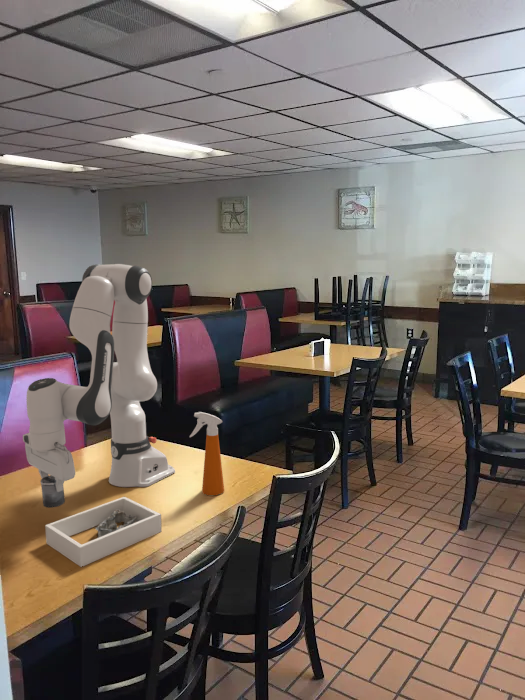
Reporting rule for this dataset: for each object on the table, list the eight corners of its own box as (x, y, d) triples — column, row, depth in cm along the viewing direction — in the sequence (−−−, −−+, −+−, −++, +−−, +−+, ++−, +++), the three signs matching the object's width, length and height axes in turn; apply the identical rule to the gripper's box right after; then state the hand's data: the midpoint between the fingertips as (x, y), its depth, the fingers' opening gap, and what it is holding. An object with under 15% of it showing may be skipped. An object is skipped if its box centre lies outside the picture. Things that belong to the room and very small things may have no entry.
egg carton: (119, 521, 159) (119, 507, 158) (140, 526, 155) (140, 512, 155) (92, 537, 149) (91, 522, 149) (114, 543, 146) (113, 528, 145)
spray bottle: (188, 490, 179) (186, 410, 175) (220, 485, 183) (220, 407, 178) (193, 499, 172) (191, 416, 168) (227, 494, 176) (226, 412, 172)
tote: (124, 512, 163) (124, 496, 162) (161, 531, 152) (161, 514, 151) (46, 543, 145) (45, 525, 145) (81, 567, 134) (80, 547, 133)
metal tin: (59, 496, 159) (56, 473, 158) (69, 502, 155) (66, 478, 154) (39, 503, 155) (36, 479, 153) (49, 509, 151) (46, 485, 150)
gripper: (78, 444, 147) (83, 493, 149) (41, 428, 160) (45, 474, 163) (56, 451, 142) (61, 501, 145) (19, 434, 156) (24, 481, 158)
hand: (52, 487), depth 154 cm, fingers closed on metal tin, 6 cm apart
